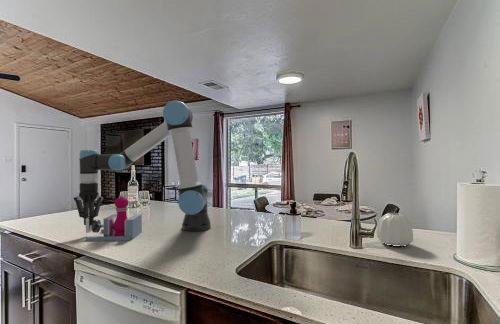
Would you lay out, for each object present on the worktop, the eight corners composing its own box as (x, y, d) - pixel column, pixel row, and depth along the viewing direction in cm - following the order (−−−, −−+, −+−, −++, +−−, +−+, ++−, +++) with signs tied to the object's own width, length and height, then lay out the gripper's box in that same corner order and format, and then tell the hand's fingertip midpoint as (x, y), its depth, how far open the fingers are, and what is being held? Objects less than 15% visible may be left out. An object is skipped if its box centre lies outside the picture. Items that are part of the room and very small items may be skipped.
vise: (142, 231, 139) (142, 213, 139) (131, 240, 124) (131, 220, 124) (102, 231, 138) (102, 214, 138) (86, 240, 123) (86, 220, 123)
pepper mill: (123, 238, 127) (123, 195, 127) (109, 237, 129) (109, 194, 128) (133, 234, 134) (133, 193, 134) (120, 233, 136) (120, 193, 135)
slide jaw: (118, 232, 136) (118, 214, 136) (109, 238, 126) (109, 218, 126) (100, 232, 136) (100, 214, 136) (89, 238, 126) (89, 219, 126)
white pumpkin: (370, 241, 123) (370, 211, 123) (393, 238, 128) (393, 209, 128) (396, 251, 110) (396, 218, 110) (420, 247, 115) (421, 215, 115)
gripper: (106, 181, 134) (106, 229, 135) (79, 181, 134) (79, 229, 134) (98, 183, 127) (98, 234, 127) (69, 183, 126) (69, 234, 127)
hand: (88, 231), depth 131 cm, fingers closed
